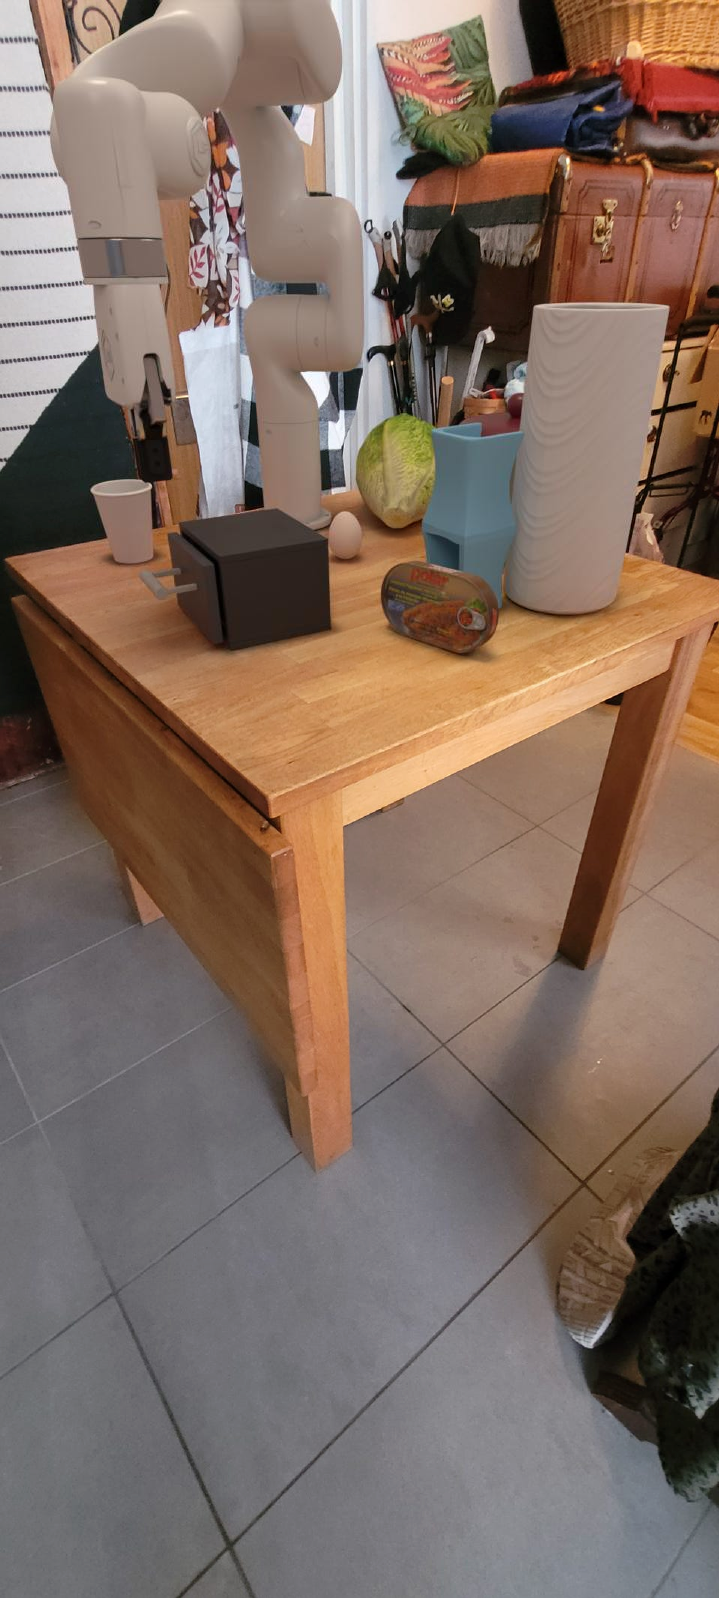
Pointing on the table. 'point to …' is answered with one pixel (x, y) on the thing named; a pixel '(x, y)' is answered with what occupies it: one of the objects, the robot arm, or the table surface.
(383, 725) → the table surface
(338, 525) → the egg
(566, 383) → the vase
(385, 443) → the lettuce
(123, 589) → the table surface
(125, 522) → the dixie cup
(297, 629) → the cabinet
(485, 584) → the tin
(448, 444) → the vase
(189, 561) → the drawer
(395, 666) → the table surface
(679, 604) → the table surface
